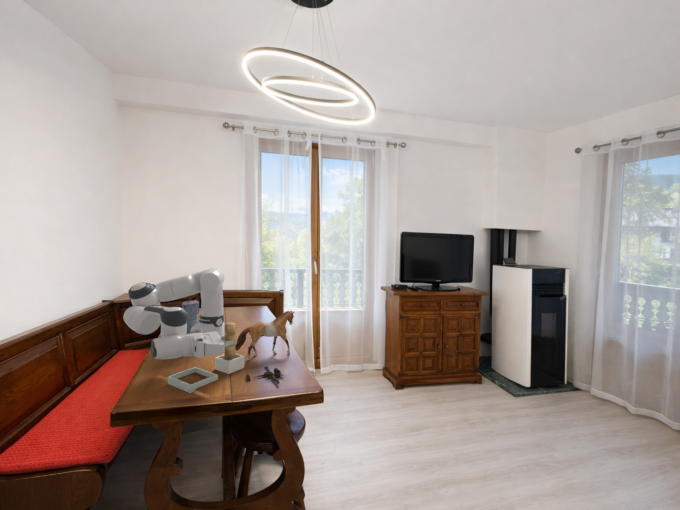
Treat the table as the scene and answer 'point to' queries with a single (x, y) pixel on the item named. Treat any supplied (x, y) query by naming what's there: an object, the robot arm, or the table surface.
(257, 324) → the horse figurine
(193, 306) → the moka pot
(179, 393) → the table surface
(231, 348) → the dowel
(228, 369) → the white square box
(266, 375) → the bear figurine
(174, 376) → the tray
